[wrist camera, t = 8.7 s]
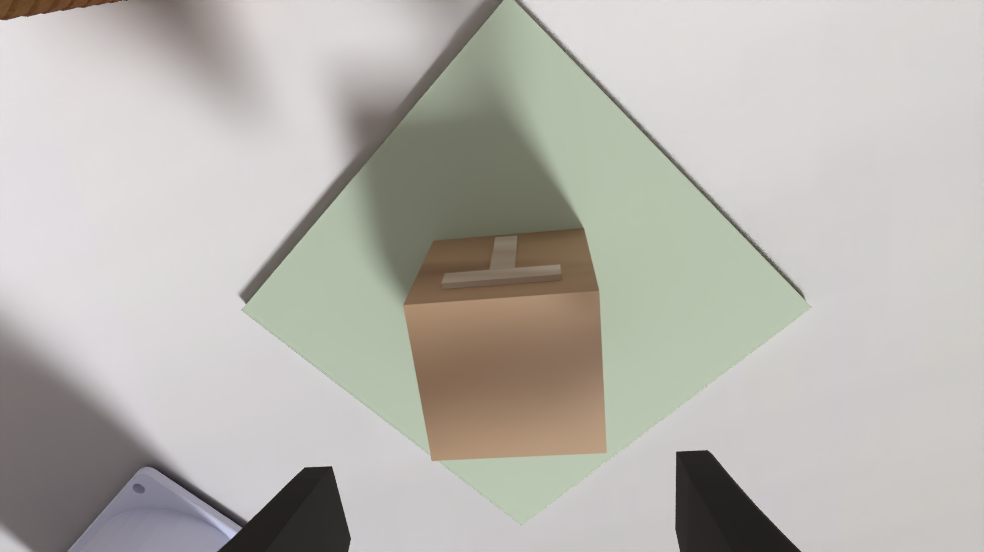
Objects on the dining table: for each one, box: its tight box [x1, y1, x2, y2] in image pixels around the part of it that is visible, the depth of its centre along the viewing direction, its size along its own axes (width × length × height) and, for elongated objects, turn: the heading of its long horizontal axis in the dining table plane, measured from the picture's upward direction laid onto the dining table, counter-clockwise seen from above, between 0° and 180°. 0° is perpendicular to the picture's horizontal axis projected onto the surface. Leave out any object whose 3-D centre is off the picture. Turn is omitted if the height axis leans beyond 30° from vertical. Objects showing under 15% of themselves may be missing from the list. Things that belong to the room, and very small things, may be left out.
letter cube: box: [403, 228, 607, 461], centre depth 18 cm, size 5×5×5 cm
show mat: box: [242, 0, 812, 526], centre depth 21 cm, size 14×14×1 cm
